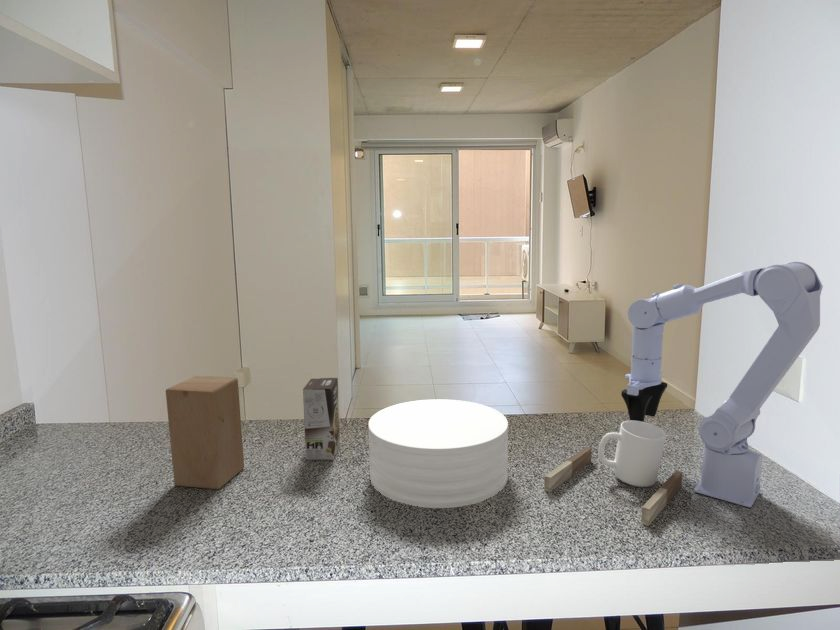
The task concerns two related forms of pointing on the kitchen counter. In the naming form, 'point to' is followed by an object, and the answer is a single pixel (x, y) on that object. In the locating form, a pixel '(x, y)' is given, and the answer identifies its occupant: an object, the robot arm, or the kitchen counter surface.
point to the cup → (636, 452)
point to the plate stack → (438, 452)
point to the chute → (648, 509)
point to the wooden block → (205, 431)
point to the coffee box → (321, 418)
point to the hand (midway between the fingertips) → (643, 420)
